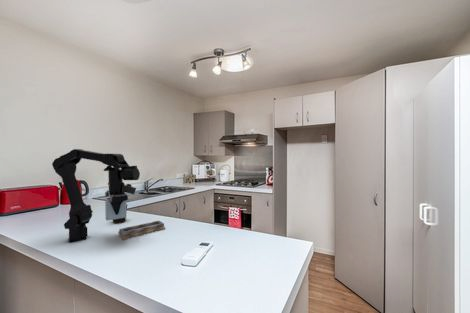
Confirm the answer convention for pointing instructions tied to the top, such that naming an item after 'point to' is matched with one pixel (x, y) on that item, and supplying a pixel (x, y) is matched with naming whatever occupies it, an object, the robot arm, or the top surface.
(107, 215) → the grey flat block
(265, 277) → the top surface
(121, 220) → the coffee mug
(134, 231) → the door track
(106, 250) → the top surface
